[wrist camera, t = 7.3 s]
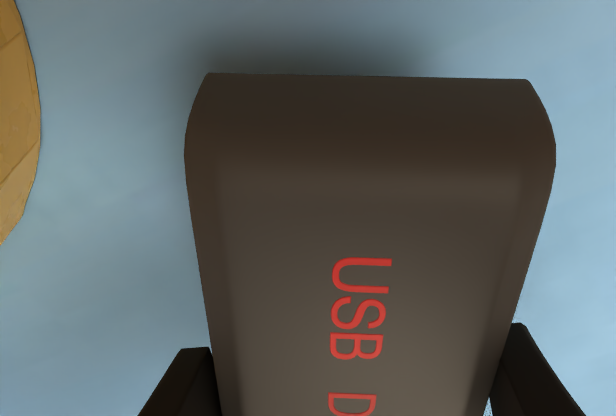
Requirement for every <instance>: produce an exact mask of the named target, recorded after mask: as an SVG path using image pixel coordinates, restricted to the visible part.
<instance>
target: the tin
mask: <svg viewBox="0 0 616 416" xmlns="http://www.w3.org/2000/svg"><path fill="white" fill-rule="evenodd" d="M39 150H40V103H39V96H38V89H37V82H36V75H35V68H34V63H33V60H32V56H31V53H30V49H29V46H28V42H27V38H26V35H25V31H24V28H23V24H22V21H21V17H20V15H19V12H18V10H17V7H16V5H15V3H14V0H0V245H1V244H2V243H3V241H4V240H5V239H6V237H7V236H8V235H9V233H10V232H11V231H12V229H13V228H14V227H15V225H16V224H17V223H18V221H19V220H20V219H21V216H22V215H23V212H24V207H25V203H26V201H27V198H28V195H29V193H30V190H31V187H32V185H33V182H34V179H35V174H36V168H37V162H38V156H39Z"/></svg>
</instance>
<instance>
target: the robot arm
mask: <svg viewBox="0 0 616 416" xmlns="http://www.w3.org/2000/svg"><path fill="white" fill-rule="evenodd" d="M489 398H490V403H491V409H492V414H493V416H586V415H585V414H584V413H583V411H582V410H581V409H580V407H579V406H578V405H577V403H576V402H575V401H574V399H573V398H572V397H571V395H570V394H569V392H568V391H567V390H566V388H565V387H564V386H563V384H562V383H561V381H560V380H559V378H558V377H557V375H556V374H555V372H554V371H553V370H552V368H551V367H550V365H549V364H548V362H547V360H546V359H545V357H544V356H543V354H542V353H541V351H540V350H539V348H538V346H537V345H536V343H535V341H534V340H533V338H532V336H531V334H530V333H529V331H528V329H527V327H526V326H525V325H523V324H522V323H511V326H510V329H509V333H508V336H507V339H506V342H505V346H504V349H503V352H502V355H501V358H500V361H499V365H498V368H497V372H496V375H495V378H494V381H493V385H492V388H491V391H490V394H489ZM138 416H222V412H221V406H220V400H219V393H218V387H217V380H216V374H215V368H214V361H213V356H212V353H211V351H210V349H209V347H196V348H183V349H181V350H180V351H179V352H178V353H177V355H176V357H175V358H174V360H173V361H172V363H171V364H170V366H169V368H168V369H167V371H166V372H165V374H164V376H163V377H162V379H161V380H160V382H159V384H158V385H157V387H156V388H155V390H154V391H153V393H152V394H151V396H150V398H149V399H148V401H147V402H146V404H145V405H144V407H143V408H142V410H141V411H140V413H139V414H138Z"/></svg>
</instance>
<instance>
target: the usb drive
mask: <svg viewBox="0 0 616 416" xmlns="http://www.w3.org/2000/svg"><path fill="white" fill-rule="evenodd" d="M184 161H185V174H186V184H187V192H188V199H189V206H190V214H191V220H192V227H193V233H194V239H195V246H196V252H197V259H198V265H199V272H200V278H201V284H202V291H203V297H204V304H205V310H206V316H207V323H208V329H209V336H210V342H211V348H212V355H213V361H214V368H215V374H216V380H217V387H218V393H219V400H220V406H221V412H222V416H483V414H484V411H485V407H486V404H487V401H488V398H489V394H490V391H491V388H492V385H493V381H494V378H495V375H496V372H497V368H498V365H499V361H500V358H501V355H502V352H503V349H504V346H505V342H506V339H507V336H508V333H509V329H510V326H511V323H512V320H513V316H514V313H515V310H516V307H517V303H518V300H519V297H520V294H521V290H522V287H523V284H524V281H525V277H526V274H527V271H528V268H529V264H530V261H531V258H532V255H533V251H534V248H535V245H536V242H537V238H538V235H539V232H540V229H541V225H542V222H543V218H544V215H545V211H546V207H547V204H548V200H549V197H550V193H551V189H552V183H553V178H554V172H555V167H556V143H555V138H554V134H553V129H552V125H551V122H550V120H549V117H548V115H547V112H546V110H545V108H544V106H543V104H542V102H541V100H540V98H539V96H538V95H537V93H536V91H535V90H534V88H533V86H532V85H531V83H530V82H529V81H528V80H526V79H487V78H439V77H391V76H343V75H295V74H247V73H208V74H206V76H205V78H204V80H203V82H202V84H201V86H200V88H199V90H198V93H197V95H196V97H195V100H194V102H193V106H192V109H191V112H190V115H189V118H188V123H187V128H186V133H185V147H184Z"/></svg>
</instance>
